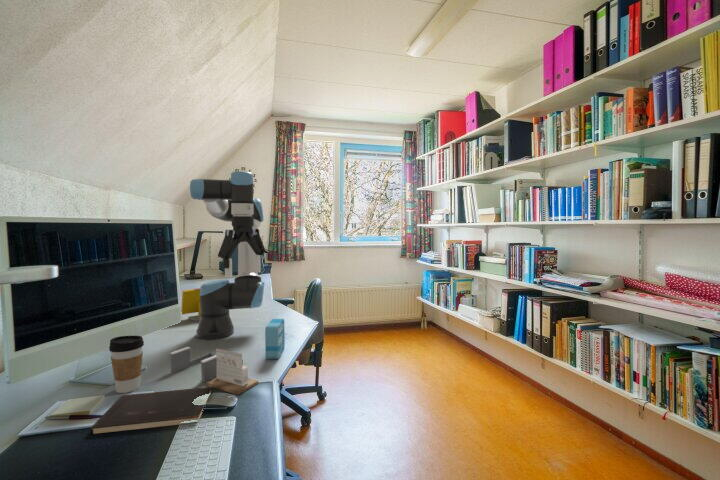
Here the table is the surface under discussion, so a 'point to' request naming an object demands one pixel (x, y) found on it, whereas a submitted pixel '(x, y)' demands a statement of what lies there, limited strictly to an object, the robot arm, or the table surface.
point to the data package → (274, 339)
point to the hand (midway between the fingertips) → (243, 274)
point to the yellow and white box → (191, 303)
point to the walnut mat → (231, 385)
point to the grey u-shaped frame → (208, 362)
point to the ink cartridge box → (231, 368)
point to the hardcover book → (151, 410)
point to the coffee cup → (126, 362)
